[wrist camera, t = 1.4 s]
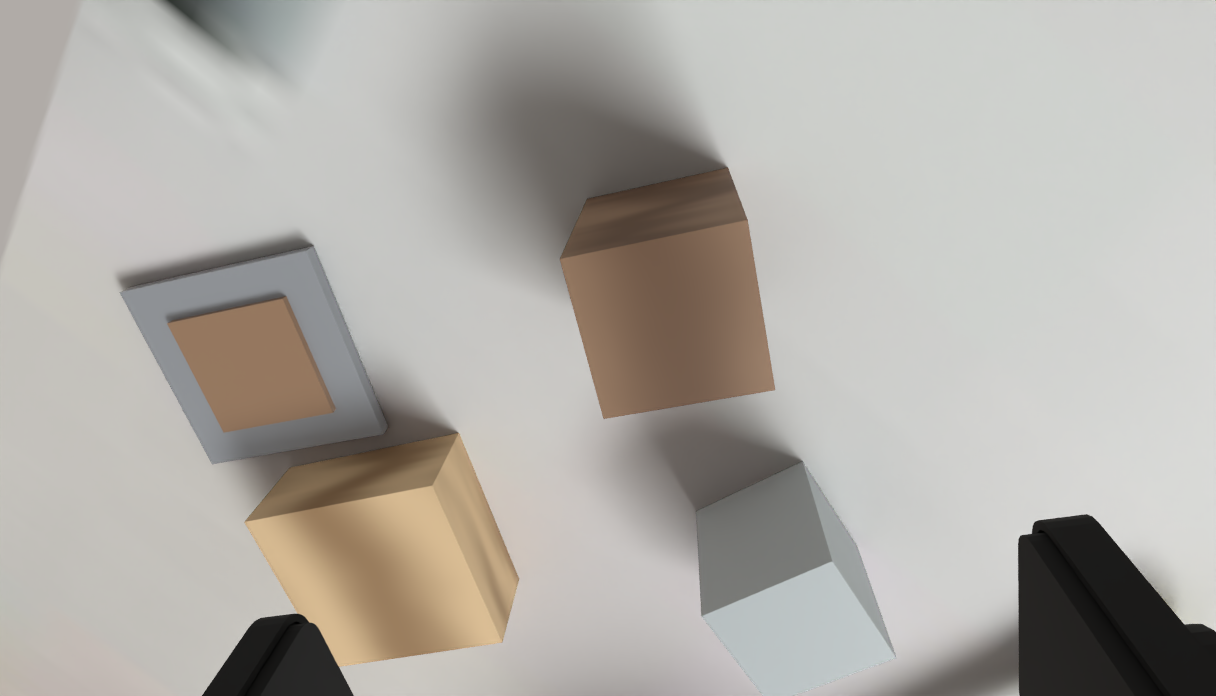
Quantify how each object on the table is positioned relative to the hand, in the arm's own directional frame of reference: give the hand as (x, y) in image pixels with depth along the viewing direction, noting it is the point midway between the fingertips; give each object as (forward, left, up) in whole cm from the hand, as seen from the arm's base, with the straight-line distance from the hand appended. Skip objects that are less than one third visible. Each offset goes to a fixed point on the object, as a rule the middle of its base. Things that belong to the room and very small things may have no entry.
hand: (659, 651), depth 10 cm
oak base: (+14, +10, -18) cm, 25 cm away
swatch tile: (+17, +1, -18) cm, 25 cm away
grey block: (-2, +13, -18) cm, 23 cm away
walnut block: (0, 0, -18) cm, 18 cm away
